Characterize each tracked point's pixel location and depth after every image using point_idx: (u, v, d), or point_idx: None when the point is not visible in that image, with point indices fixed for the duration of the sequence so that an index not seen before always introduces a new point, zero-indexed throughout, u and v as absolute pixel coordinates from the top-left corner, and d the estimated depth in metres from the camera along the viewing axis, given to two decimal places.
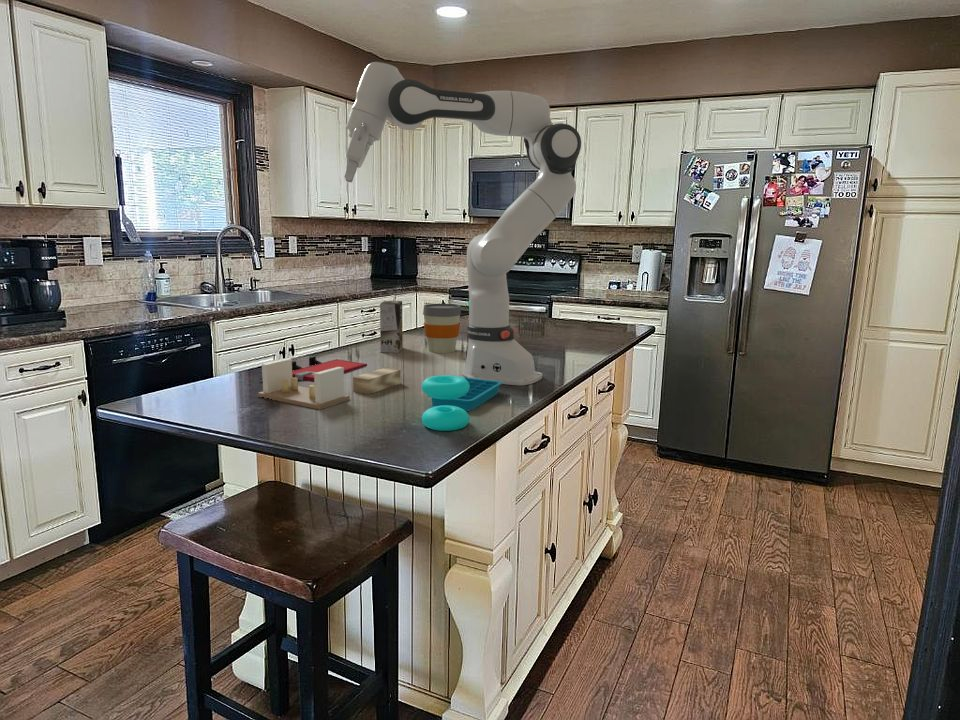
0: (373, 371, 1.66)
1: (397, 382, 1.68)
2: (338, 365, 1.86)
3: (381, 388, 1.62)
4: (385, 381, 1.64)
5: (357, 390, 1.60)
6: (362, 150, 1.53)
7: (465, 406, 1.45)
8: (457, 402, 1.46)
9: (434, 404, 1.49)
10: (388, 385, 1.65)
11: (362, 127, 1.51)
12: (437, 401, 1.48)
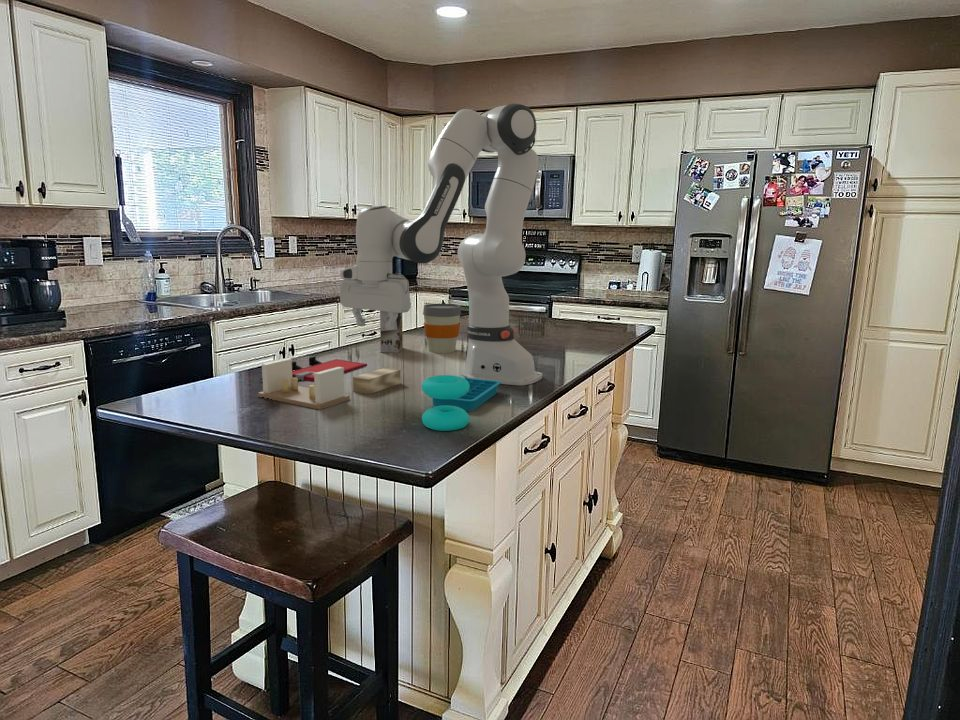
0: (373, 371, 1.66)
1: (397, 382, 1.68)
2: (338, 365, 1.86)
3: (381, 388, 1.62)
4: (385, 381, 1.64)
5: (357, 390, 1.60)
6: None
7: (467, 406, 1.45)
8: (459, 402, 1.46)
9: (435, 404, 1.48)
10: (388, 385, 1.65)
11: (407, 281, 1.54)
12: (438, 401, 1.48)
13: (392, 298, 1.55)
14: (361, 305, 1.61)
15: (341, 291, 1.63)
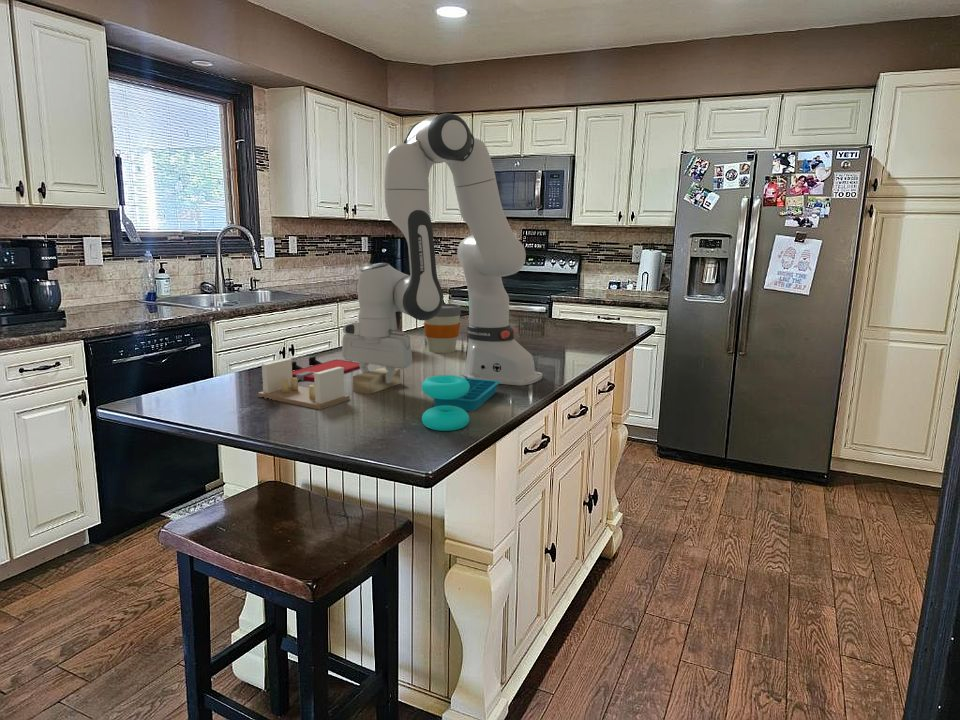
0: (373, 370, 1.66)
1: (397, 381, 1.68)
2: (338, 365, 1.86)
3: (381, 387, 1.62)
4: None
5: (357, 389, 1.60)
6: (411, 356, 1.60)
7: (469, 406, 1.45)
8: (461, 402, 1.46)
9: (437, 405, 1.48)
10: (388, 384, 1.65)
11: (408, 338, 1.57)
12: (440, 402, 1.47)
13: (394, 354, 1.58)
14: (363, 359, 1.63)
15: (343, 345, 1.65)
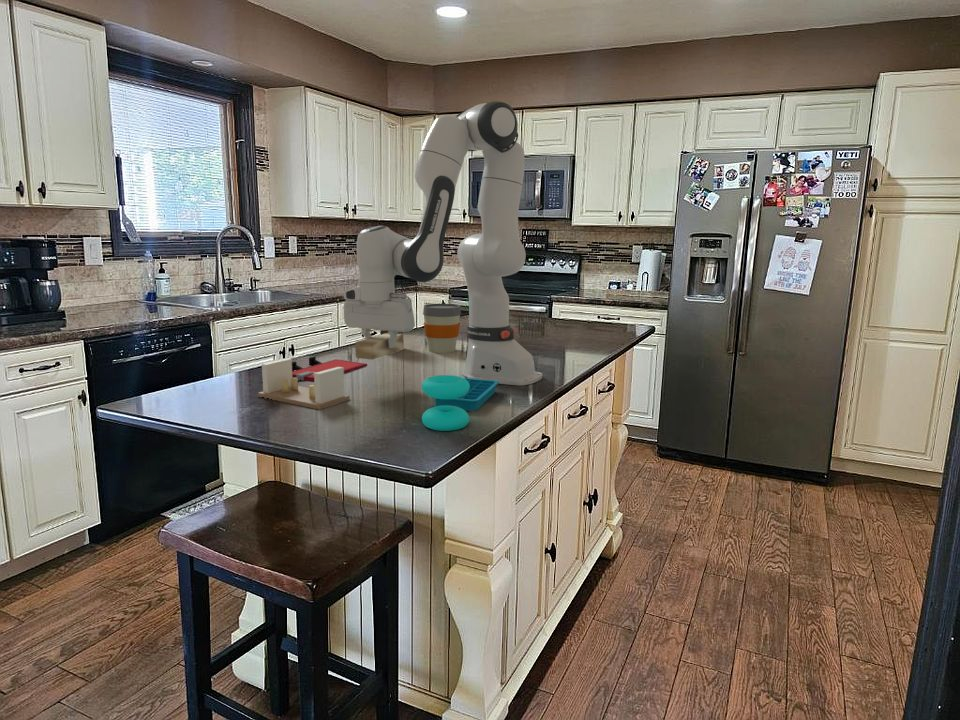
0: (376, 336, 1.65)
1: (400, 347, 1.67)
2: (338, 365, 1.86)
3: (384, 352, 1.61)
4: None
5: (360, 355, 1.59)
6: (413, 319, 1.58)
7: (470, 406, 1.45)
8: (462, 402, 1.46)
9: (438, 405, 1.48)
10: (391, 349, 1.63)
11: (410, 300, 1.55)
12: (441, 402, 1.47)
13: (396, 318, 1.56)
14: (365, 324, 1.62)
15: (345, 312, 1.64)
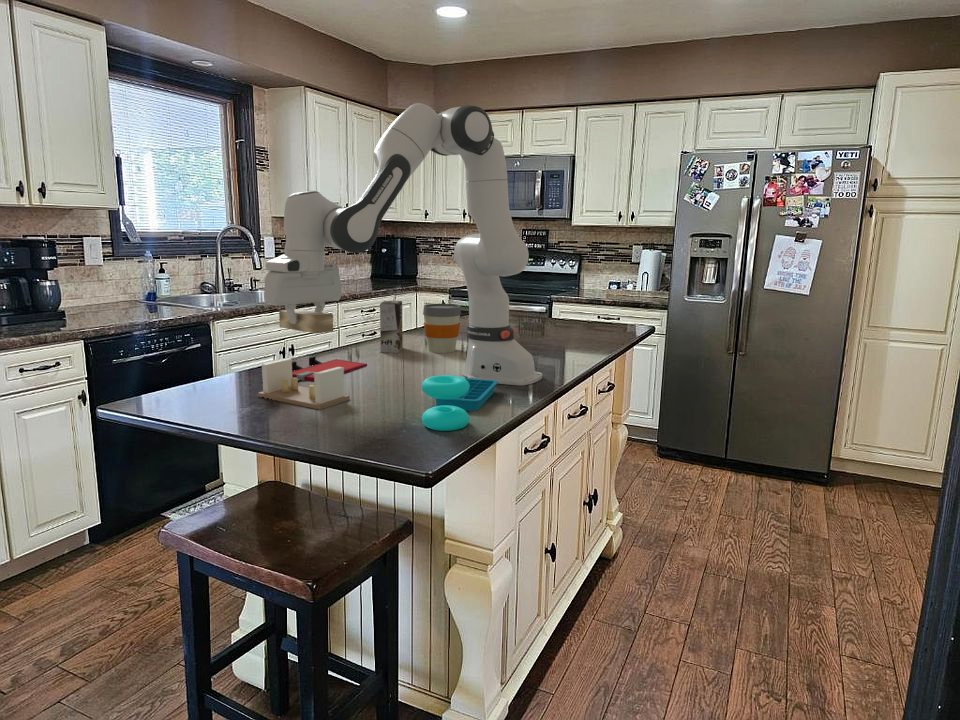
0: (295, 312, 1.49)
1: None
2: (338, 365, 1.86)
3: None
4: None
5: (321, 329, 1.46)
6: None
7: (472, 406, 1.46)
8: (463, 402, 1.46)
9: (439, 405, 1.48)
10: None
11: None
12: (442, 402, 1.47)
13: (332, 287, 1.54)
14: (300, 299, 1.46)
15: (279, 287, 1.40)
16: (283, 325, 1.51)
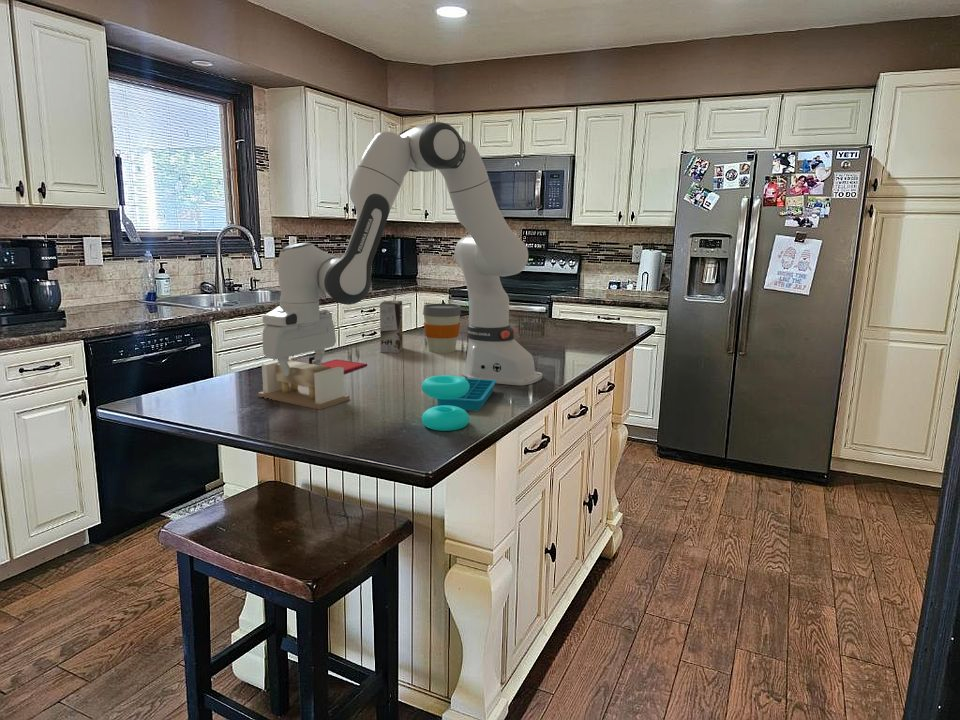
0: (293, 366, 1.51)
1: None
2: (338, 365, 1.86)
3: None
4: None
5: None
6: None
7: (474, 406, 1.46)
8: (466, 402, 1.46)
9: None
10: None
11: None
12: (444, 402, 1.47)
13: (327, 334, 1.56)
14: (298, 350, 1.48)
15: (278, 342, 1.42)
16: (280, 378, 1.53)
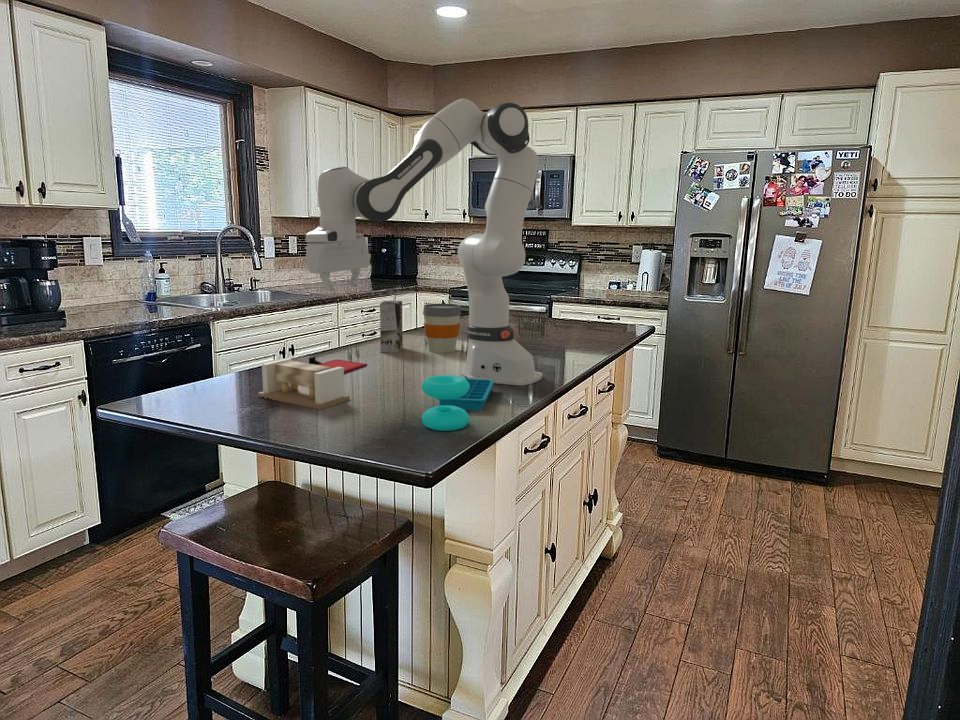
0: (293, 366, 1.51)
1: None
2: (338, 365, 1.86)
3: None
4: None
5: None
6: None
7: (477, 406, 1.46)
8: (468, 402, 1.46)
9: None
10: None
11: None
12: (446, 403, 1.47)
13: (362, 255, 1.68)
14: (338, 267, 1.60)
15: (321, 256, 1.54)
16: (280, 378, 1.53)
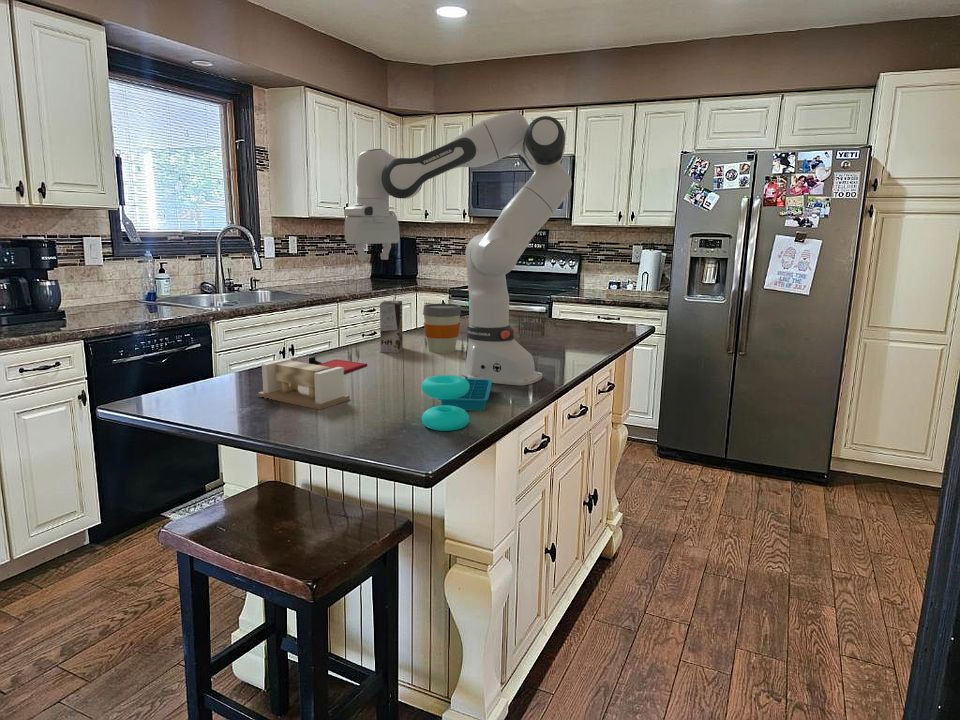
0: (293, 366, 1.51)
1: None
2: (339, 365, 1.85)
3: None
4: None
5: None
6: None
7: (479, 405, 1.46)
8: (471, 402, 1.46)
9: None
10: None
11: None
12: (448, 403, 1.46)
13: (393, 231, 1.84)
14: (372, 240, 1.76)
15: (358, 229, 1.70)
16: (280, 378, 1.53)
